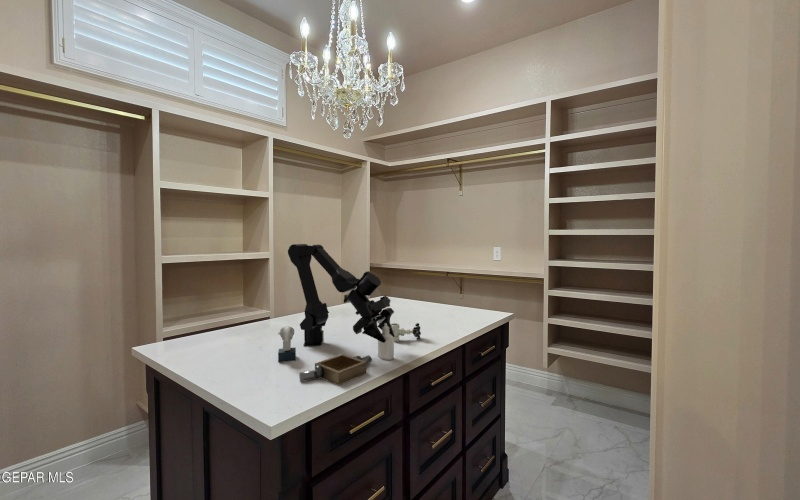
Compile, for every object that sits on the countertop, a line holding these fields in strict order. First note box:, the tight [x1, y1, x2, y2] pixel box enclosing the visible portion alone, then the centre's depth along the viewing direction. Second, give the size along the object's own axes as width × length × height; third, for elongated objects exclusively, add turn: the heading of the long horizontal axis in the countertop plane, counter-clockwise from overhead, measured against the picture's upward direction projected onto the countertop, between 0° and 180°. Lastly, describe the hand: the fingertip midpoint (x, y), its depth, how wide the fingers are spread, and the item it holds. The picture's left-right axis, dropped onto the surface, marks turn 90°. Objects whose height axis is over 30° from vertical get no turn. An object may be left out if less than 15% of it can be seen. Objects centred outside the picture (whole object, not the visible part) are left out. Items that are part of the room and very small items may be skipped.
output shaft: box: [298, 365, 323, 382], centre depth 102 cm, size 6×4×4 cm, turn 114°
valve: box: [390, 322, 422, 343], centre depth 139 cm, size 7×7×12 cm
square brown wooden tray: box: [314, 353, 368, 386], centre depth 106 cm, size 11×11×4 cm
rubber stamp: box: [277, 325, 297, 363], centre depth 118 cm, size 6×8×11 cm
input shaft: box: [353, 354, 373, 365], centre depth 112 cm, size 6×4×4 cm, turn 140°
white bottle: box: [377, 323, 395, 361], centre depth 119 cm, size 4×6×12 cm
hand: (389, 339), depth 118 cm, fingers open, 6 cm apart
